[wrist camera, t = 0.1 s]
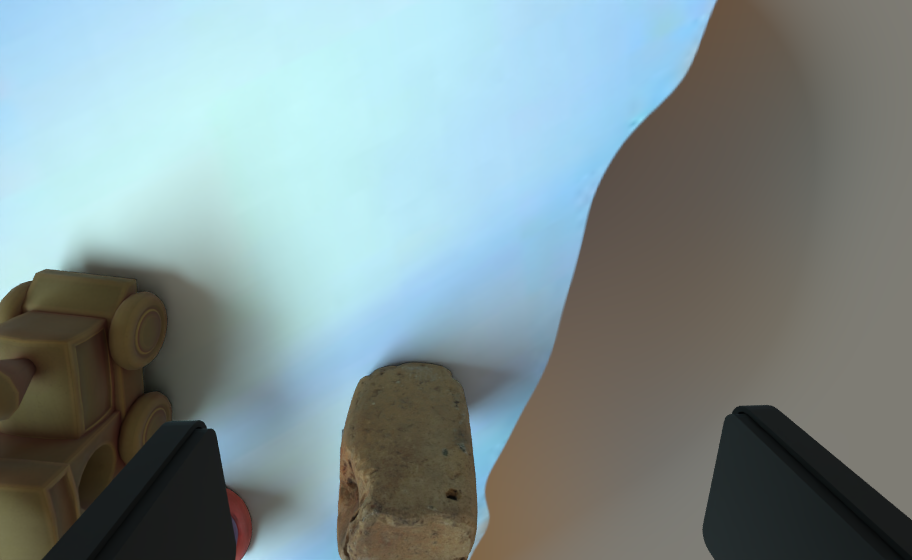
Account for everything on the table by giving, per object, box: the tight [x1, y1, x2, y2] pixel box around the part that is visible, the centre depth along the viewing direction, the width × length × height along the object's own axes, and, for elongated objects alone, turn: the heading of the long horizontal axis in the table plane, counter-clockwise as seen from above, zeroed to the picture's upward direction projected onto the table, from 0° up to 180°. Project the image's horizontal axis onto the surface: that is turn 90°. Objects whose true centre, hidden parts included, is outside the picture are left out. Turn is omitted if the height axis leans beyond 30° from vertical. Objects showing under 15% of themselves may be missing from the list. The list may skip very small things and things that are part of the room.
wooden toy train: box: [0, 269, 172, 560], centre depth 40 cm, size 20×11×17 cm, turn 172°
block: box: [337, 362, 477, 560], centre depth 40 cm, size 11×8×20 cm
